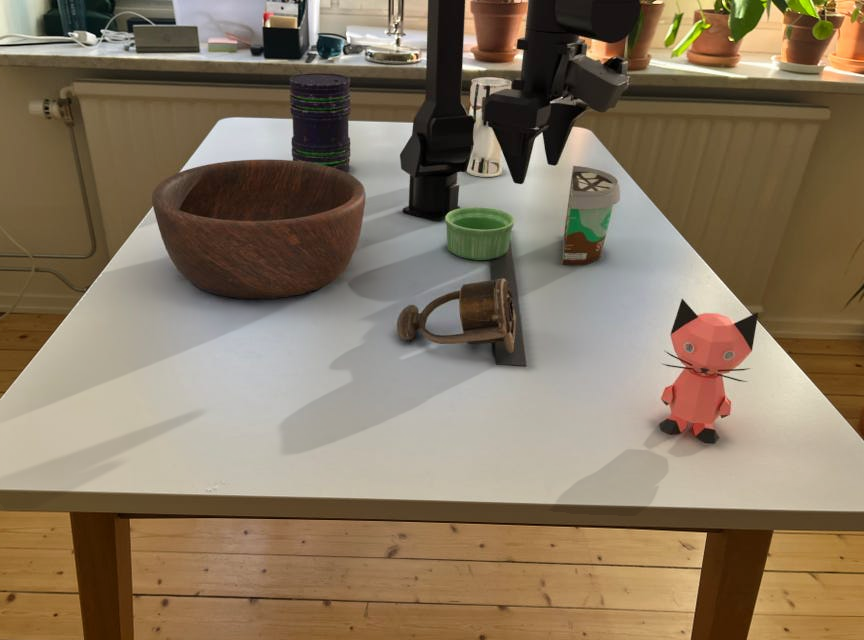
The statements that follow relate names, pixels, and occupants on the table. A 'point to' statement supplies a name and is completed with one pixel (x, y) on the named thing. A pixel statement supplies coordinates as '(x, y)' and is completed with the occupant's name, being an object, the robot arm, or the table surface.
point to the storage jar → (321, 119)
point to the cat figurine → (704, 368)
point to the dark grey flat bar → (505, 269)
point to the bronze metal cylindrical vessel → (469, 315)
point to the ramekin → (478, 232)
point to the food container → (588, 214)
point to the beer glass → (484, 129)
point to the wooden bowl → (260, 225)
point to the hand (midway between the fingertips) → (536, 173)
